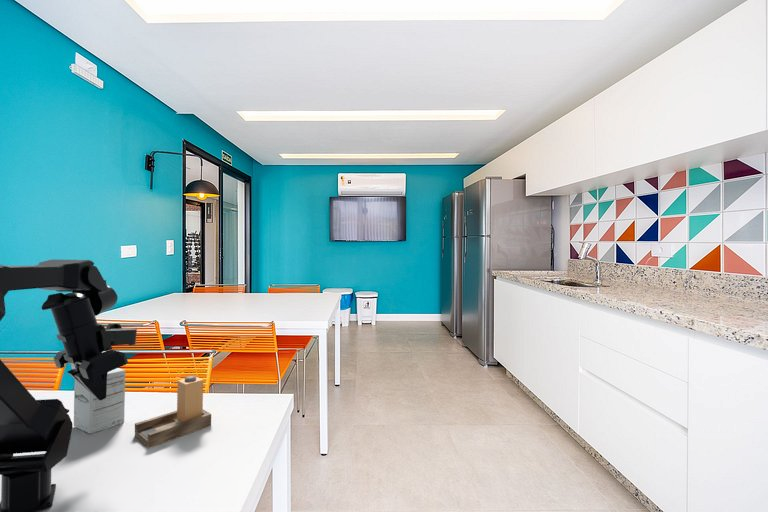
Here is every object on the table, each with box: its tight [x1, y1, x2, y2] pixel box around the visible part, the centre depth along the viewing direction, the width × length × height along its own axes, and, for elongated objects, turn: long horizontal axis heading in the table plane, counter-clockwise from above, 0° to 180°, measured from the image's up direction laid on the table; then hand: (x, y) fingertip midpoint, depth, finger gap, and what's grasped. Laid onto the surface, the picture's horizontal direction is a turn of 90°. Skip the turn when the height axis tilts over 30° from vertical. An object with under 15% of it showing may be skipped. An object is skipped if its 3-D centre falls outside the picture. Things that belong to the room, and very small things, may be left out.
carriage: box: [176, 375, 204, 422], centre depth 86 cm, size 4×4×10 cm
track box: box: [134, 409, 212, 449], centre depth 83 cm, size 13×8×3 cm, turn 143°
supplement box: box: [73, 367, 126, 435], centre depth 85 cm, size 7×7×13 cm
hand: (102, 399), depth 72 cm, fingers closed
